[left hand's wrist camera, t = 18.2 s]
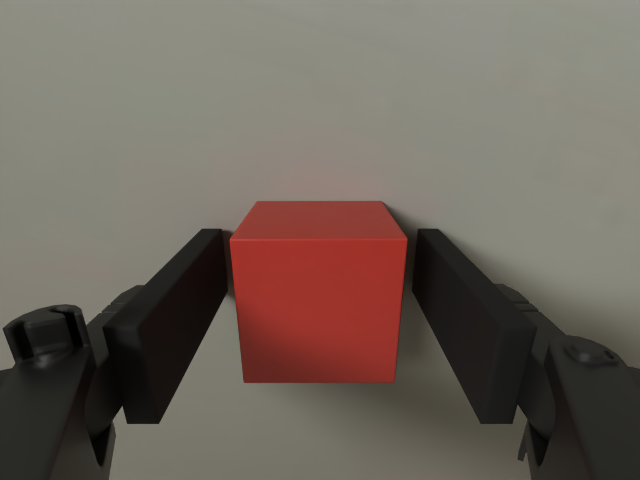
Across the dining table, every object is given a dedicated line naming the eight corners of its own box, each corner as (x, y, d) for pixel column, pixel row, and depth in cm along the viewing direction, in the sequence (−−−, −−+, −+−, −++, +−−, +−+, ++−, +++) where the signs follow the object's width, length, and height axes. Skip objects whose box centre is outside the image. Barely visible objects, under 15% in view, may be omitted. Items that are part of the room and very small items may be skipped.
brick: (381, 200, 13) (408, 238, 9) (374, 311, 15) (394, 383, 11) (256, 201, 13) (228, 238, 9) (263, 311, 15) (243, 383, 11)
